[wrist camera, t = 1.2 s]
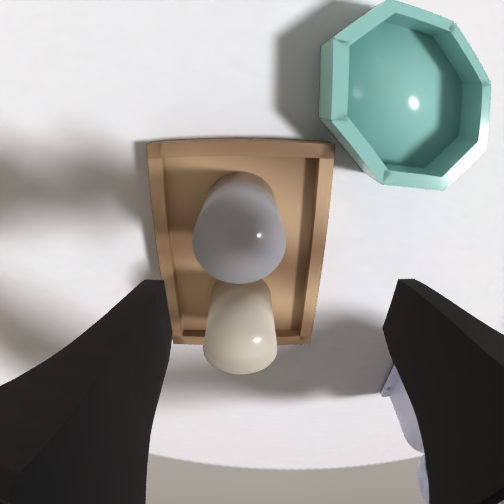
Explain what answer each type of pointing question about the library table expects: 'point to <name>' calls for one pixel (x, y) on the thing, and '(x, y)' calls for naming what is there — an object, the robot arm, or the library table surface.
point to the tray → (290, 209)
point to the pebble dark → (239, 230)
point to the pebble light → (240, 327)
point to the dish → (405, 96)
